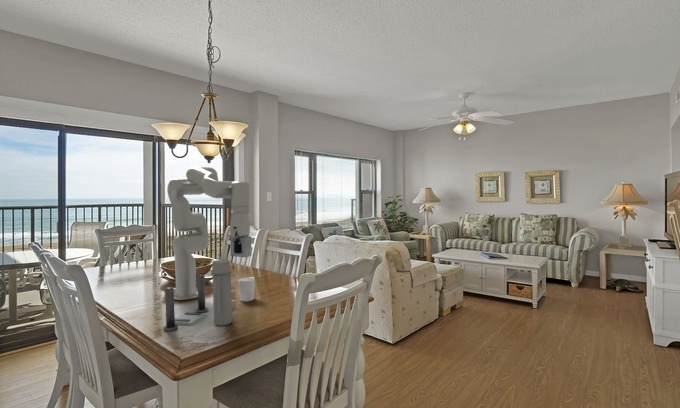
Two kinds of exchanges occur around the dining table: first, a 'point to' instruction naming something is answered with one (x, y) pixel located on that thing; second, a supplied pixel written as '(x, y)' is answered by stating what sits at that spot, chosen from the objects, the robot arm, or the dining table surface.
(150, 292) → the dining table surface
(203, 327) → the dining table surface
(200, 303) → the post
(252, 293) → the white cup
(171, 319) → the post
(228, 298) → the water bottle
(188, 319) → the paddle plate
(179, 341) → the dining table surface
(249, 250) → the medicine box
